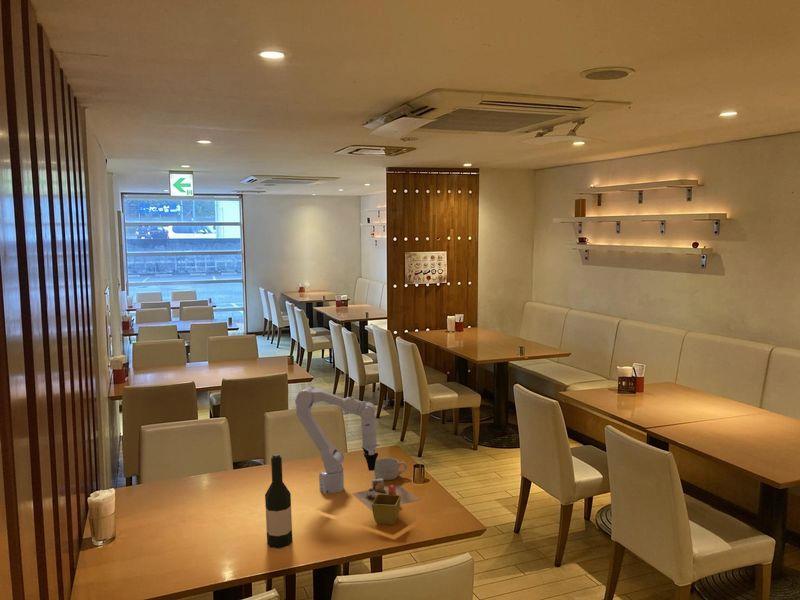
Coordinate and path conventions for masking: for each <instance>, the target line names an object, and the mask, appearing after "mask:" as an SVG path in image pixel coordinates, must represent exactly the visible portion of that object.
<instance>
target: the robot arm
mask: <svg viewBox="0 0 800 600" xmlns="http://www.w3.org/2000/svg"><path fill="white" fill-rule="evenodd" d="M321 402H325V403H328V404H331V405H335V406H338V407H341V408H342V411H344V412H347V413H350V414H352V415H355V416H359V417H360V418H361V425H360V426H361V442H362V443H361V449H362V450H363V452H364V453H363V456H364V458H365V460H366V464H367V469H368V471H371V472H373V471H374V469H375V462H376V460H378V459H377V458H378V455H379V452H375V450H376V448H378V447H380V446H381V445H380V444H381V443H380V442H378V441H377V423H376V422H377V421H376V412H377V407H376V405H375V404H374V403H373V402H371V401H365V400H363V401H361V400H359V399H356V398H355V397H354V396H347V397H341V396H338V395H336V394H333V393H331V392H328V391H326V390H323V389H322V388H320V387H314V386H311V385H307V386H304V388H303V389H302V390H301V391H299V392H298V393H297V395H296V398H295V405H296V408H295V409H296V410H295V411H296V416H297V418H298V419H299V421H300V422H301V424H302V426H303V428H304V429H305V430H306V432H307V433H308V436H309V437H310V438H311V440H312V441H313V443H314V445H315V446H316V448H317V450H318V451H319V452H320V458H321V460H322V463H323V467H324V471H322V472H319V475H318V480H319V481H318V482H319V490H320V491H321V493H323V494H324V495H328V494H332V493H333V494H334V493H339V492H343V490H344V489H345V484H344V483H345V480H344V467H343V463H344V459H345V455H344V454H343V452H341V451H340V450H338V449H337V447H336V446H335V445H334V444H332V443H331V442H330V440H329V438H328V437H327V436H326V433H325V432H324V431H323V429H322V428H321V426H320V425H319V423H318V422H317V420H316V418H315V416H314V415H313V413H312V408H313V404H317V403H321Z"/></svg>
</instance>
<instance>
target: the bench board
mask: <svg viewBox="0 0 800 600" xmlns="http://www.w3.org/2000/svg"><path fill="white" fill-rule="evenodd" d="M389 485H390V484H389ZM389 485H384V491H383V492H381V493H383V494H387V495H389V492H388V486H389ZM391 485H396V495H400V496H401V500H400V505H403V504H406V503H407V504H408V503H411V502H412V503H413V502H415V501H420V500H421V499H420V498H419V497H417V496H416V495H414V494H413V493H411V492H410V491H408V490H407V489H406V488H404V487H403V486H401V485H400V484H398V483H393V484H391ZM375 492H377V491H375ZM351 494H352V495H353V497H355V498H357V499H358V500H359V501H360V502H361V503H362V504H363V505H365V506H366V507H367V508H368V509H369V510H370V511H371V512H373V510H372V502H373V501H374V499H375V498H372V497H367V495H366V490H362V491H358V492H353V493H351Z"/></svg>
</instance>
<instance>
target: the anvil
mask: <svg viewBox="0 0 800 600" xmlns="http://www.w3.org/2000/svg"><path fill="white" fill-rule="evenodd" d="M384 482H385V480H383V479H382V478H380V479H377V478H372V479H371V488H372V489H374V490H375V486H376V485H377V484H378V483H382V484H383V485H384V486H385V484H384ZM375 491H376V490H375Z"/></svg>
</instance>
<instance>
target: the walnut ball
mask: <svg viewBox="0 0 800 600" xmlns="http://www.w3.org/2000/svg"><path fill="white" fill-rule="evenodd" d="M384 486H385V484H384V485H383V484H382V483H378V484H377V485H376V486H375V490H376V491H377V492H379V493H381V492H383V491H384Z"/></svg>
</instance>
